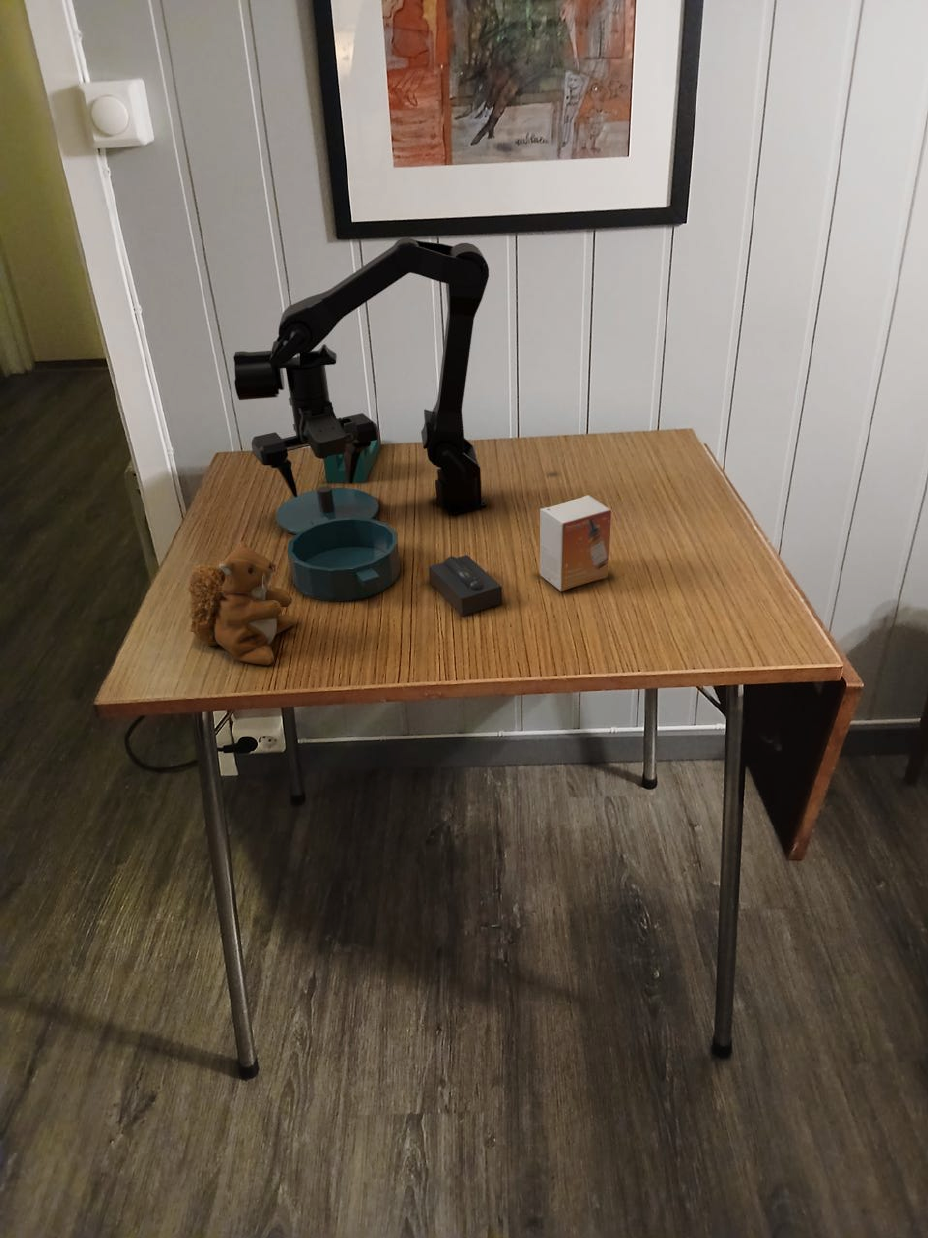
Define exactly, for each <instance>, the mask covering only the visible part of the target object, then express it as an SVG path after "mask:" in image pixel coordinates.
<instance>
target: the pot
mask: <svg viewBox="0 0 928 1238" xmlns="http://www.w3.org/2000/svg"><path fill="white" fill-rule="evenodd" d="M311 523H312V525H311V526H309V527H307V528H305V529H303V530H301V531H299V532H298V533H297V534H294V536H293V537H292V538H291V539H290V540H289V541H288V545H287V551H286V552H287V553H286V555H287V559H288V565H289V570H290V576H291V580H292V582H293V585H294V587H295V589H297V590H298V591H299V593H301V594H303V595H305V596H306V597H309V598H312V599H315V600H320V601H326V602H348V601H357V600H361V599H364V598H368V597H370V596H374V595H377V594H379V593H382V592H383V591H384V590H386V589H388V588H389V587H390V586H391V585H393V584H394V583H395V582H396V581H397V579H398V578H399V576H400V574H401V559H400V547H399V539H398V538H399V537H398V533H397V532H396V530H395V529H394V528H393V527H391V526H390V525H389V524H387V523H385V522H382V521H379V520H377V519H375V518H373V519H366V518H357V517H351V518H338V519H332V520H328V518H327V517H323V518H319V519H315V520H312V521H311Z"/></svg>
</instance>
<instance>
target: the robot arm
mask: <svg viewBox="0 0 928 1238" xmlns="http://www.w3.org/2000/svg"><path fill="white" fill-rule="evenodd" d="M408 274H414V275H418V276H421V277H423V278H427V279H431V280H433V281H436V282H438V283H442V284H443V283H444V284H445V292H446V304H447V313H446V323H445V329H444V331H445V332H444V338H443V339H444V341H443V347H442V356H441V365H440V373H439V381H438V391H437V398H436V402H435V404H434V406H433V409H432V410H428V409H424V410H423V414H424V415H423V417H424V424H423V427H422V430H421V431H420V434H421V440H422V441H421V442H422V448H423V449H424V450H426V452H427V457H428V460H429V461H430V462H431V463H432V464H431V465H433V466H435V467H436V468H437V469H436V475H437V478H436V479H435V481H434V487H435V498H434V502H435V503H436V504H437V505H438V506H439V507H441V508H442V510H444V511H445V512H446V513H447V514H449V515H450V516H456V515H460V514H463V513H467V512H472V511H474V510H478V509H481V508H485V507H487V506H488V503H487V502H486V501H485V500H483V496H482V474H481V470H482V469H481V467H480V465H479V461H478V457H477V454H476V450H475V446H474V444H473V443H472V442H470V441H469V440H468V439H466V438H465V432H464V431H465V429H464V420H463V405H464V397H465V390H466V381H467V376H468V375H467V373H468V367H469V359H470V352H471V351H470V350H471V344H472V337H473V328H474V321H475V317H476V314H477V312H478V310H479V308H480V305H481V303H482V301H483V298H484V295H485V291H486V289H487V285H488V281H489V278H490V268H489V264H488V262H487V260H486V258H485V256H484V255H483V252H482V251H481V250H480V249H479V247H477V246H476V245H475V244H472V243H469V242H459V243H457V244H455V245H451V244H445V243H439V242H433V241H432V242H431V241H423V240H418V239H414V238H412V237H410V236H408V237H407V236H405V237H401V238H399V239H397V241H395V243H394V244H393V245H392V246H390V247H389V248H388V249H387V250H385V251H384V252H382V253H381V254H379V255H378V256H376V257H375V258H373V259H372V260H371V261H369V262H368V263H366V264H365V265H363V266H362V267H361V268H359V269H358V270H356V271H354V272H353V273H351V274H350V275H348V276H347V277H346V278H344V279H343V280H341V281H340V282H339V283H337V284H336V285H335V286H333V287H331V288H330V289H328V290H326V291H323V292H321V293H317V294H315V295H310V296H308V297H306V298H304V299H302V300H299V301H297V302H295V303H293V304H291V305H289V306H288V307H286V308H285V310H284V311H283V313H282V314H281V318H280V322H279V325H278V331H277V333H278V336H277V338H276V340H275V341H273V343H272V346H271V350H262V351H261V350H260V351H235V352H234V354H233V363H234V364H233V365H234V367H233V369H234V381H233V383H234V389H235V394H236V396H237V399H238V400H239V401H245V400H247V401H248V400H260V399H261V400H262V399H271V398H272V399H273V398H274V399H275V398H278V397H279V395H280V391H284V390H285V376H284V369H285V371H286V379H287V385H288V392H289V398H288V403H289V405H290V406H291V411H292V412H291V413H292V417H293V418H292V419H293V424H292V427H293V431H294V432H295V435H293V436H287V437H283V438H282V437H281V436H280V435H279V434H278V433H277V432H270V433H266V434H261V435H257V436H254V437H253V439H252V441H251V443H250V445H251V449H252V455H253V456H254V457H255V458H256V459H257V461H259V462H260V464H261V465H262V466H266V467H268V466H269V467H270V468H271V469H277V470H278V471H279V473H280V475H281V476H282V479H283V480H284V483H285V484H286V486H287V487H288V489H289V491H290V493H291V495H292V496H293V497H297V495H298V491H297V486H296V482H295V478H294V474H293V471H292V461H291V460H289V458H288V457H289V451H294V450H298V449H302V448H306V447H310V448H311V450H312V452H313V455H314V456H315V458H317V459H320V460H323V459H324V458H327V457H328V456H332V455H337V454H338V455H341V454H344V463H345V472H346V476H347V481H348V482H347V483H348V484H350V485H351V484H353V483H354V482H353V478H354V474H355V470H356V466H357V463H358V459H359V457H360V454H361V452H362V451H363V450H364V449H365V448H366V447H369V446H370V445H371V441H375V440H378V439H379V440H380V435H379V428H378V425H377V423H376V422H375V421H374V420H372V419H371V418H370V417H369V416H367V415H365V414H364V413H363V412H361V413H356V414H353V415H347V416H343V417H337V416H336V414H335V410H334V407H333V402H332V401H331V400H330V393H329V386H328V379H327V372H326V371H327V370H326V366H334V365H336V364H337V360H338V359H337V358H338V357H337V356H338V355H337V353H336V352H334V351H333V350H331V349H330V348H328V346H327V344H325V343H324V344H322V345H321V347H320V348H319V349H318V350H315V349H316V347H318V346H319V344H320V343H321V342H323V341H324V340H325V339H326V338H327V336H328V335H330V333H331V332H332V331H333V330H334V328H335V327H336V326H337V325H338V324H339V323H340V321H342V320H343V319H344V318H345V317H347V316H348V315H349V314H351V313H352V312H354V311H355V310H357V309H359V307H361V306H363V305H364V304H365V303H367V302H368V301H370V300H372V299H373V298H374V297H376V296H377V295H379V294H380V293H382V292H384V291H385V290H386V289H388V288H389V287H390V286H392V285H393V284H395V283H396V282H397V281H399V280H401V279H402V278H403V277H405V276H406V275H408ZM298 354H299V356H296V355H298Z"/></svg>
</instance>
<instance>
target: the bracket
mask: <svg viewBox="0 0 928 1238" xmlns="http://www.w3.org/2000/svg"><path fill="white" fill-rule="evenodd" d="M380 445H381V444H380V438H379V439H378V440H375V441H371V445H370V446H369V447H366V448H365V449H364V450H363V451H362V452H361V454H360V457H359V459H358V463H357V466H356V470H355V474H354V478H353V482H352V483H366V481H367V478H368V476H369V474H370V472H371V470H372V468H373V465H374V463H375V460H376V458H377V456H378V453H379V452H380V449H381V447H380ZM322 462H323V468H324V475H325V482H326V483H348V481H347V476H346V472H345V463H344V454H341V455H338V454H337V455H332V456H328V457H327V458H324V459H322Z"/></svg>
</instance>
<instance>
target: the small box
mask: <svg viewBox="0 0 928 1238" xmlns="http://www.w3.org/2000/svg"><path fill="white" fill-rule="evenodd" d="M539 518H540V519H539V575H540V576H541V577H542V578H543V579H545V580H546V581H547V582H548V583H549V584H551V585H552V586H553V587H554V588H556V589H557V590H558V591H559V592H565V591H567V590H569V589H573V588H576V587H579V586H582V585H586V584H589V583H592V582H595V581H598V580H604V579H606V578H608V576H609V562H610V543H611V542H610V541H611V519H612V510H611V509H610V508H609V507H607V506H606V505H604V504H603V503H601V502H600V501H598V500H597V499H595V498H593V497H592V496H591V495H589V494H588V495H584V496H582V497H579V498H576V499H572V500H569V501H565V502H562V503H558V504H555V505H551V506H546V507H542V508H540V509H539Z"/></svg>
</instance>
